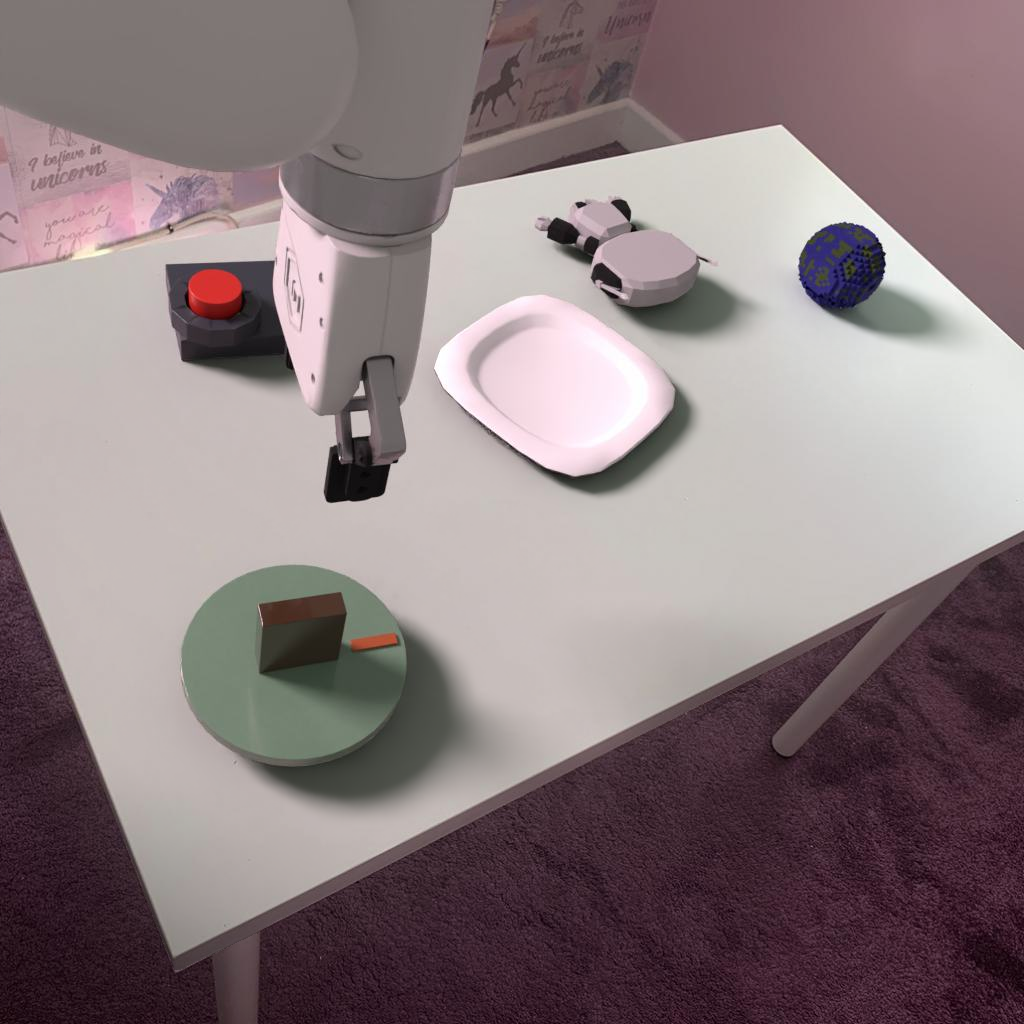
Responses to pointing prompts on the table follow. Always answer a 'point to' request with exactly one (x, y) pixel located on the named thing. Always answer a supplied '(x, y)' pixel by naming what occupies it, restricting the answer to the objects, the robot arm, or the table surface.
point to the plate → (556, 384)
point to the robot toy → (626, 253)
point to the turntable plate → (295, 694)
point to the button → (215, 294)
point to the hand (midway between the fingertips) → (332, 427)
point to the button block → (234, 336)
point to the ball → (842, 265)
